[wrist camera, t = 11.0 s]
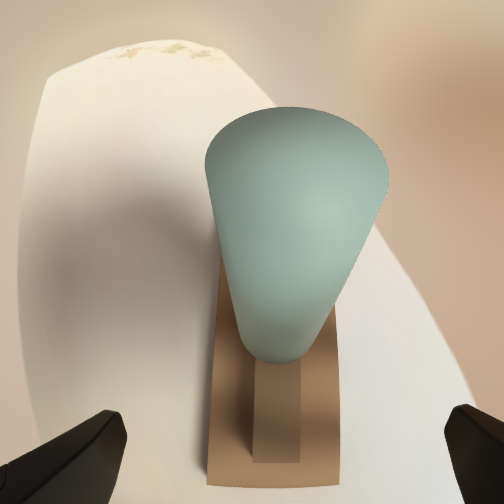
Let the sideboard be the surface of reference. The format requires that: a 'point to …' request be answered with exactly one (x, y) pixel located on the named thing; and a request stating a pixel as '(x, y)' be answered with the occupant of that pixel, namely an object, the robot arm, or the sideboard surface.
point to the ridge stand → (272, 410)
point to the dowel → (291, 219)
